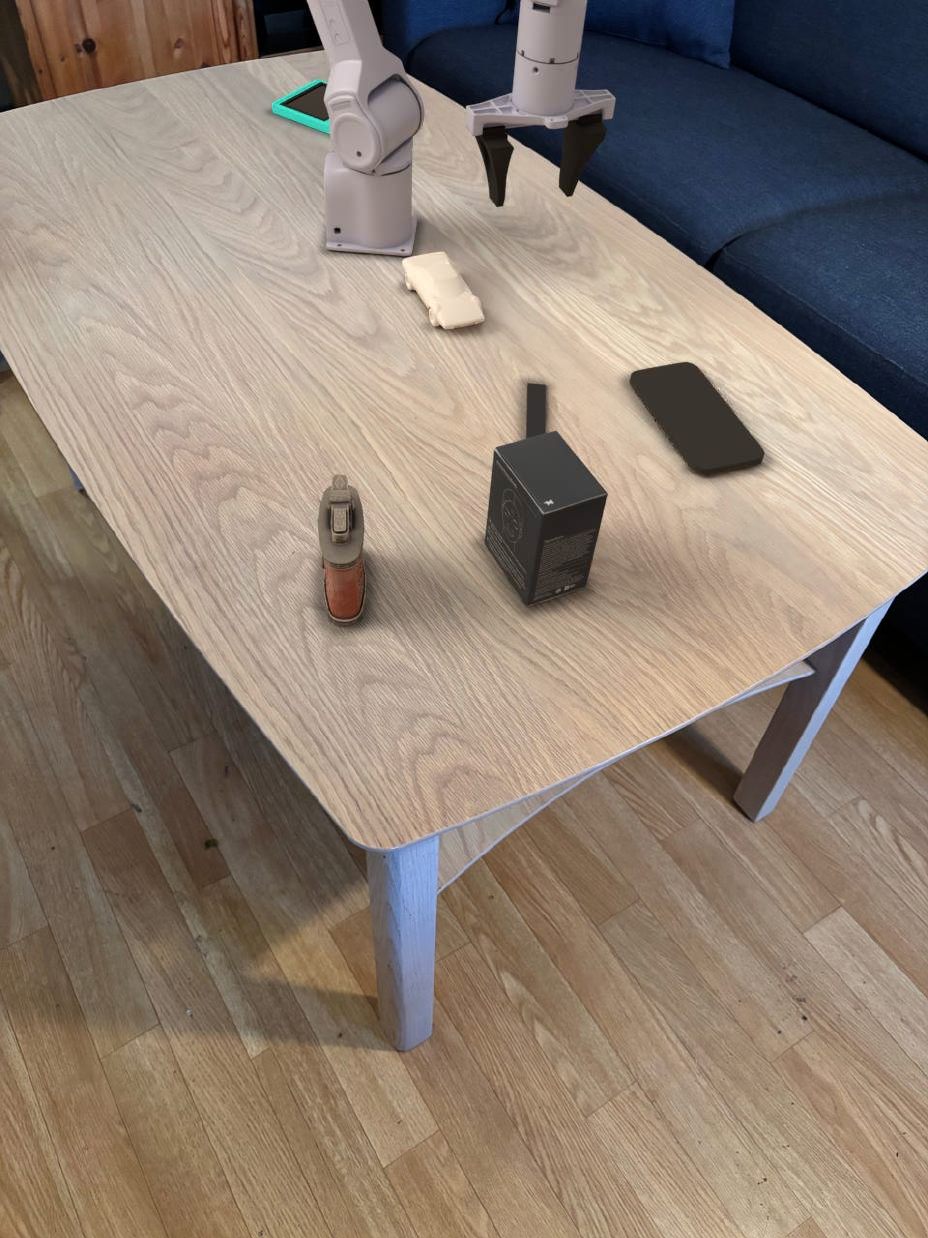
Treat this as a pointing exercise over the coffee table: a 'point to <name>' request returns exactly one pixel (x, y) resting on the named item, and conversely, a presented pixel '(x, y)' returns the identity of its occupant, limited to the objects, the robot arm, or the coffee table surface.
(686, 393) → the phone
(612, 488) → the coffee table surface
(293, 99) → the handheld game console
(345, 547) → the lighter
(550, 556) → the box
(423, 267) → the toy car
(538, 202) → the coffee table surface
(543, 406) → the tape line
